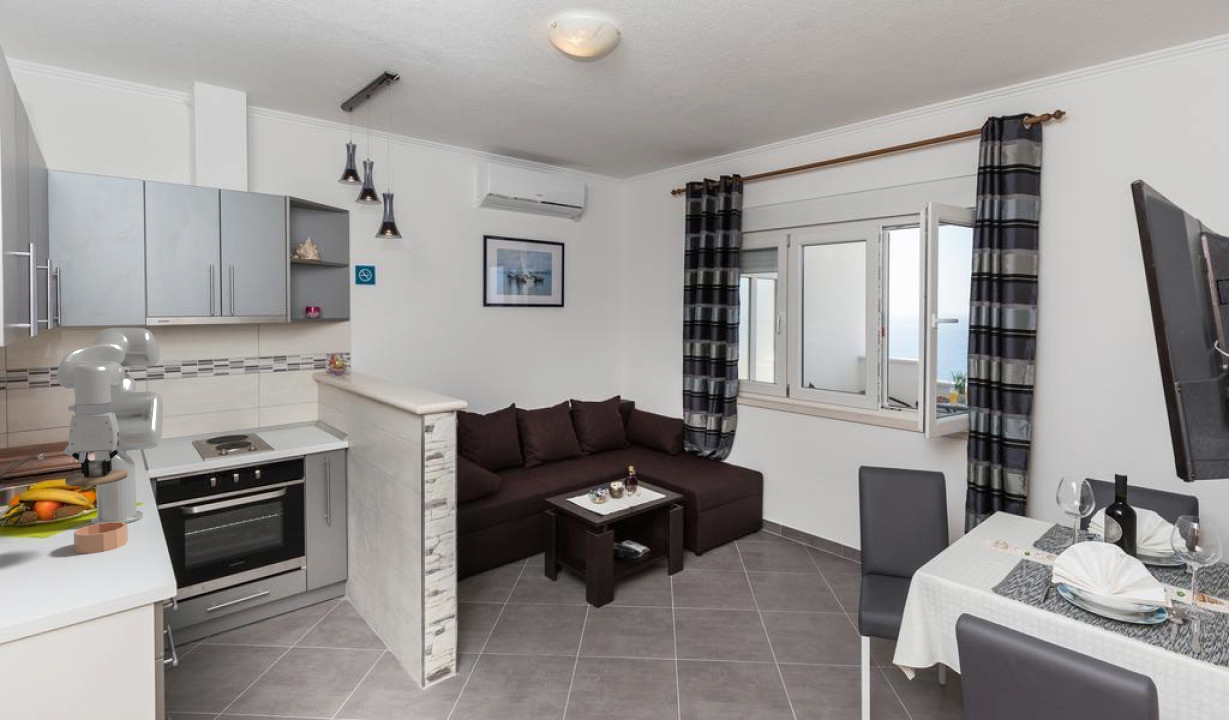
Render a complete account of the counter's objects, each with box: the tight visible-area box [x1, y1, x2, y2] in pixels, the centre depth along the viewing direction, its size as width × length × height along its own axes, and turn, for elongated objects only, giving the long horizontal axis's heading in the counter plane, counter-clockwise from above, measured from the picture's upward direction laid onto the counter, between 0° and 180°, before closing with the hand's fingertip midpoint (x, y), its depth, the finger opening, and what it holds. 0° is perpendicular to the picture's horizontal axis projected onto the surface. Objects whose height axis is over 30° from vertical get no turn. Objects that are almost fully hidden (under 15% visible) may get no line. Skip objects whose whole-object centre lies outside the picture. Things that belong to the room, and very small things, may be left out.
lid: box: [65, 459, 127, 487], centre depth 166 cm, size 13×13×5 cm
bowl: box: [73, 522, 129, 554], centre depth 169 cm, size 11×11×5 cm
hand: (97, 474), depth 166 cm, fingers closed on lid, 3 cm apart
